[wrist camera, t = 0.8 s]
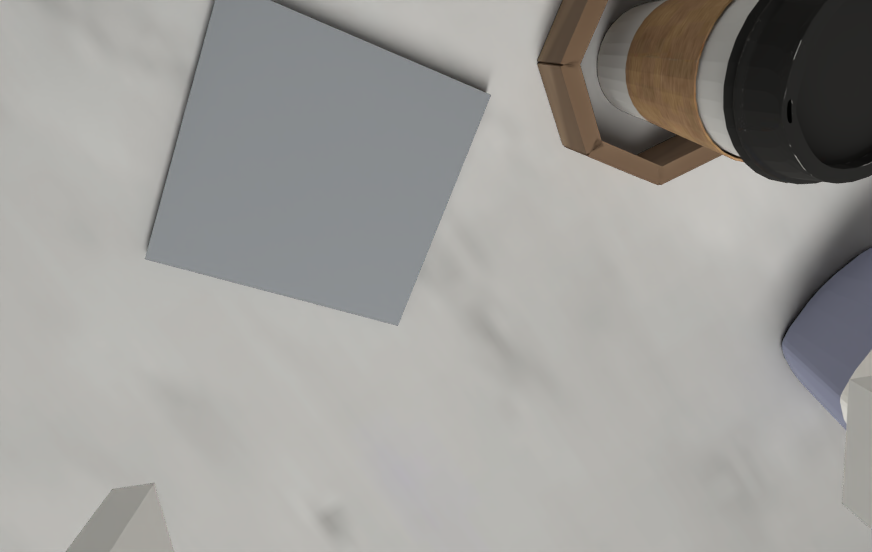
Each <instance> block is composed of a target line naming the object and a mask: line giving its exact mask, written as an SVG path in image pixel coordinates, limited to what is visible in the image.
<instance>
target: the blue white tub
mask: <svg viewBox="0 0 872 552" xmlns="http://www.w3.org/2000/svg"><path fill="white" fill-rule="evenodd" d="M782 349H783V353H784V357H785V359H786V360H787V362H788V364H789V366H790V368H791V369H792V371H793V373H794V374H795V376H796V377H797V378H798V379H799V381H800V382H801V383H802V384H803V385H804V386H805V387H806V388H807V389H808V390H809V392H810V393H811V394H812V395H813V396H814V397H815V398H816V399H817V400H818V401H819V402H820V403H821V404H822V405H823V406H824V407H825V408H826V409H827V411H828V412H829V413H830V414H831V415H832V416H833V417H834V418H835V419H836V420H837V421H838V422H839V423H840V424H841V425H842V426H843V427H844V428H845V430H846V425H847V408H848V390H849V379H853V378H860V377H866V376H872V248H870V249H868V250H866V251H865V252H863V253H861V254H860V255H859V256H857V257H856V258H855V259H854V260H852V261H851V262H850V263H849V264H847V265H846V266H845V267H844V268H842V269H841V270H840V271H839V272H837V273H836V274H835V275H834V276H833V277H832V278H831V279H830V280H828V281H827V282H826V283H825V284H824V285H823V286H822V287H821V288H820V289H819V290H818V291H817V293H816V294H815V295H814V296H813V297H812V298H811V300H810V301H809V302H808V303H807V304H806V306H805V307H804V309H803V310H802V311H801V313H800V314H799V315H798V317H797V318H796V320H795V321H794V322H793V324H792V325H791V326H790V328H789V330H788V331H787V333H786V335H785V337H784V339H783V342H782Z"/></svg>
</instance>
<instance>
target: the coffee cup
mask: <svg viewBox="0 0 872 552" xmlns="http://www.w3.org/2000/svg"><path fill="white" fill-rule="evenodd" d="M597 72H598V79H599V83H600V87H601V89H602V91H603V93H604V95H605V96H606V98H607V99H608V100H609V102H610V103H611V104H613V105H614V106H615V107H616V108H618V109H620V110H622V111H624V112H626V113H628V114H630V115H633V116H635V117H638V118H641V119H643V120H646V121H648V122H650V123H652V124H655V125H657V126H659V127H661V128H663V129H666V130H668V131H670V132H672V133H675V134H677V135H679V136H681V137H684V138H686V139H688V140H690V141H693V142H695V143H697V144H699V145H702V146H704V147H706V148H709V149H711V150H713V151H715V152H718V153H720V154H722V155H724V156H727V157H729V158H731V159H733V160H736V161H741V162H745V163H746V164H747V165H748V166H749V167H750V168H751V169H752V170H754V171H755V172H756V173H758V174H760V175H762V176H764V177H766V178H768V179H770V180H775V181H780V182H785V183H794V184H812V183H819V182H830V183H846V182H853V181H856V180H860V179H863V178H866V177H869V176H871V175H872V0H660V1H655V2H650V3H646V4H641V5H638V6H636V7H634V8H632V9H629V10H628V11H627V12H625V13H624V14H622V15H621V16H620V17H619V18H618V19H617V20H616V21H615V22H614V23H613V24H612V25H611V27H610V28H609V30H608V31H607V33H606V35H605V37H604V39H603V41H602V43H601V47H600V50H599V54H598V62H597Z"/></svg>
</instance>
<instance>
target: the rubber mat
mask: <svg viewBox="0 0 872 552" xmlns="http://www.w3.org/2000/svg"><path fill="white" fill-rule="evenodd" d="M490 96H491V95H490V94H488V93H485V92H483V91H481V90H478V89H476V88H474V87H471V86H469V85H467V84H464V83H462V82H460V81H457V80H455V79H453V78H450V77H448V76H446V75H443V74H441V73H439V72H436V71H434V70H432V69H429V68H427V67H425V66H422V65H420V64H418V63H415V62H413V61H411V60H408V59H406V58H404V57H401V56H399V55H397V54H394V53H392V52H390V51H387V50H385V49H383V48H380V47H378V46H376V45H373V44H371V43H369V42H366V41H364V40H362V39H359V38H357V37H355V36H352V35H350V34H348V33H345V32H343V31H341V30H338V29H336V28H334V27H331V26H329V25H327V24H324V23H322V22H320V21H317V20H315V19H313V18H310V17H308V16H306V15H303V14H301V13H299V12H296V11H294V10H292V9H289V8H287V7H285V6H282V5H280V4H278V3H275V2H273V1H271V0H215V3H214V6H213V10H212V14H211V17H210V21H209V25H208V28H207V32H206V36H205V39H204V43H203V47H202V50H201V54H200V58H199V62H198V65H197V69H196V73H195V76H194V80H193V84H192V87H191V91H190V95H189V98H188V102H187V106H186V109H185V113H184V117H183V120H182V124H181V128H180V131H179V135H178V139H177V143H176V146H175V150H174V154H173V157H172V161H171V165H170V168H169V172H168V176H167V179H166V183H165V187H164V190H163V194H162V198H161V201H160V205H159V209H158V212H157V216H156V220H155V224H154V227H153V231H152V235H151V238H150V242H149V246H148V249H147V253H146V257H145V259H146V260H150V261H154V262H158V263H162V264H165V265H169V266H173V267H177V268H181V269H184V270H188V271H192V272H196V273H199V274H203V275H207V276H211V277H215V278H218V279H222V280H226V281H230V282H234V283H237V284H241V285H245V286H249V287H253V288H256V289H260V290H264V291H268V292H272V293H275V294H279V295H283V296H287V297H291V298H294V299H298V300H302V301H306V302H310V303H313V304H317V305H321V306H325V307H329V308H332V309H336V310H340V311H344V312H347V313H351V314H355V315H359V316H363V317H366V318H370V319H374V320H378V321H382V322H385V323H389V324H393V325H397V326H398V324H399V322H400V319H401V317H402V314H403V312H404V309H405V307H406V304H407V302H408V299H409V297H410V294H411V292H412V289H413V287H414V285H415V282H416V280H417V277H418V275H419V272H420V270H421V267H422V265H423V262H424V260H425V257H426V255H427V252H428V250H429V247H430V245H431V242H432V240H433V238H434V235H435V233H436V230H437V228H438V225H439V223H440V220H441V218H442V215H443V213H444V210H445V208H446V205H447V203H448V200H449V198H450V195H451V193H452V190H453V188H454V186H455V183H456V181H457V178H458V176H459V173H460V171H461V168H462V166H463V163H464V161H465V158H466V156H467V153H468V151H469V148H470V146H471V143H472V141H473V138H474V136H475V134H476V131H477V129H478V126H479V124H480V121H481V119H482V116H483V114H484V111H485V109H486V106H487V104H488V101H489V99H490Z"/></svg>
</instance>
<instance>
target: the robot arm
mask: <svg viewBox="0 0 872 552" xmlns="http://www.w3.org/2000/svg"><path fill="white" fill-rule="evenodd" d="M842 504H843V505H844V506H845V507H846V508H847V509H849V510H850V511H851V512H852V513H853V514H854V515H855V516H857V517H858V518H859V519H860V520H861V521H862V522H863V523H864V524H866V525H867V526H868V527H869V528H870V529H871V530H872V376H866V377H860V378H853V379H849V390H848V408H847V425H846V442H845V459H844V476H843V494H842ZM66 552H174V549H173V545H172V542H171V539H170V535H169V532H168V528H167V525H166V521H165V518H164V515H163V511H162V508H161V504H160V501H159V497H158V494H157V490H156V487H155V484H154V483H150V484H143V485H136V486H130V487H123V488H116V489H112V490H111V492H110V493H109V494H108V496H107V497H106V498H105V500H104V501H103V502H102V504H101V505H100V506H99V508H98V509H97V510H96V512H95V513H94V514H93V516H92V517H91V518H90V520H89V521H88V522H87V524H86V525H85V526H84V528H83V529H82V530H81V532H80V533H79V534H78V536H77V537H76V538H75V540H74V541H73V543H72V544H71V545H70V547H69V548H68V549H67V551H66Z"/></svg>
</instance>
